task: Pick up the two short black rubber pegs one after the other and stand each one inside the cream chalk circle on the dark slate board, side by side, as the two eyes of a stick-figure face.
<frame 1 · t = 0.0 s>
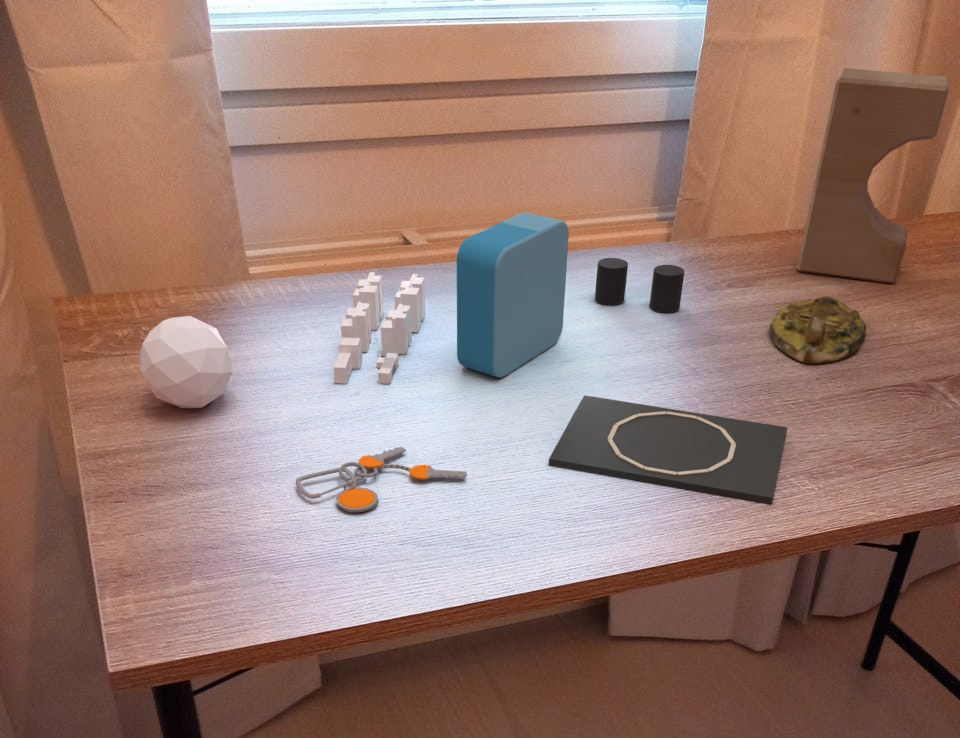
modular blocks: (379, 346, 101), on the table
seal: (815, 337, 104), on the table
decorative block: (846, 272, 118), on the table
slate board: (670, 448, 86), on the table
key chain: (379, 482, 81), on the table
eye peg 2: (664, 307, 109), on the table
blue rounded slab: (510, 357, 100), on the table
geometric ball: (194, 404, 91), on the table
eye peg 1: (609, 299, 110), on the table
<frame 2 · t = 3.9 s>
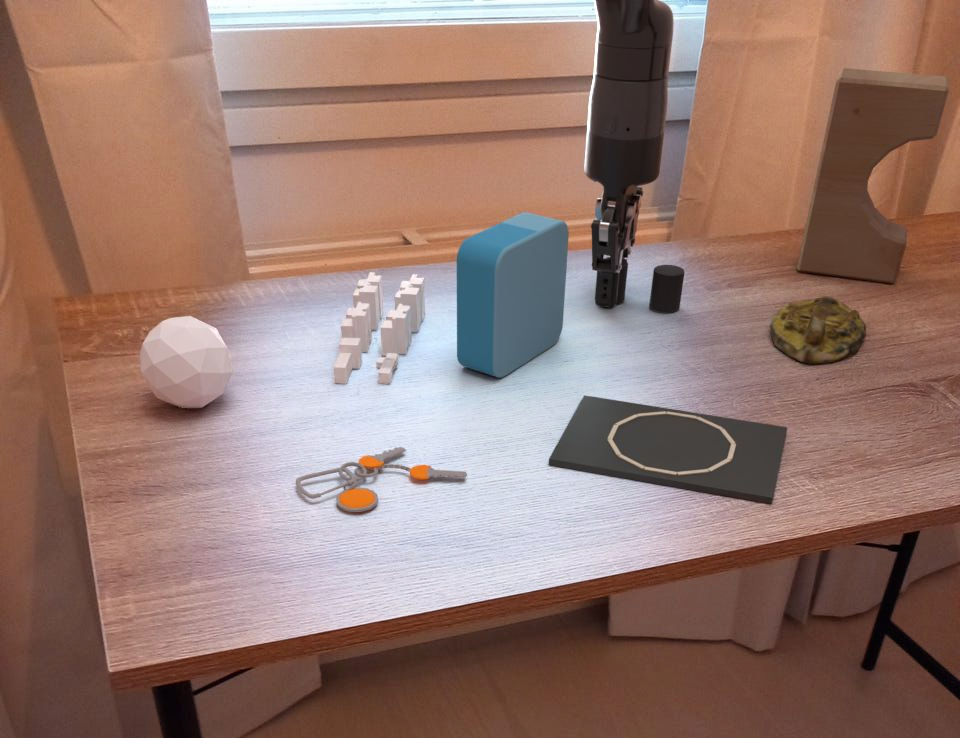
hand: (609, 298, 110), 0 cm above the table, tool pointing down, fingers closed on eye peg 1, 3 cm apart
eye peg 1: (609, 299, 110), on the table, touching gripper
everything else where it was.
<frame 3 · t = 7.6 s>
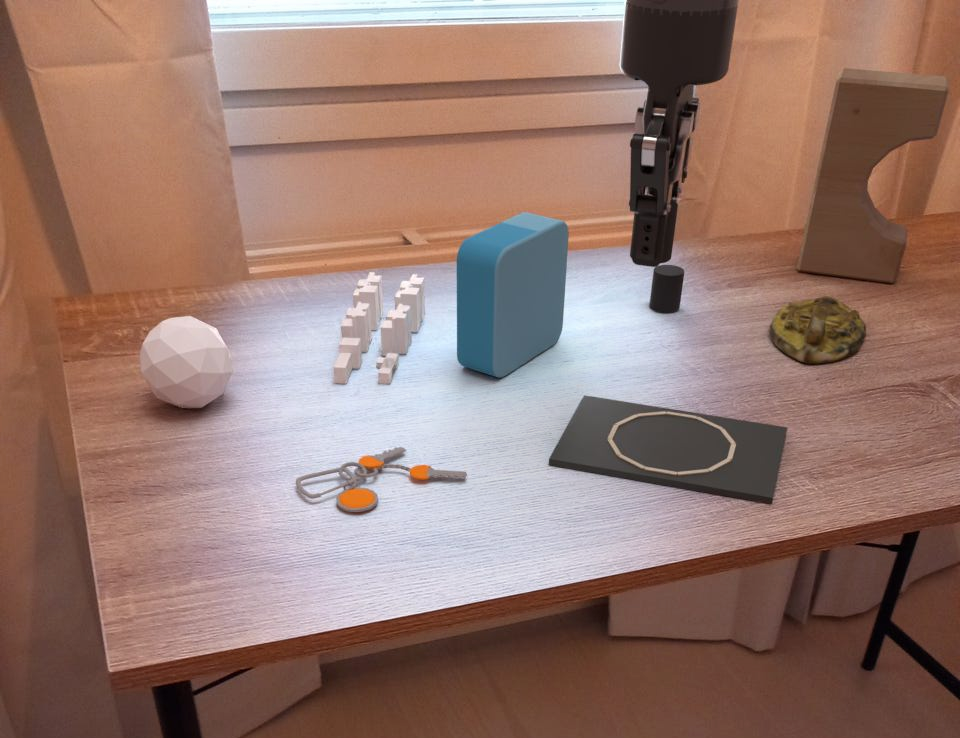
hand: (651, 254, 79), 15 cm above the table, tool pointing down, fingers closed on eye peg 1, 3 cm apart
eye peg 1: (650, 256, 79), point 15 cm above the table, touching gripper
everything else where it was.
when the fingers open (1 cm above the table, at t = 11.3 s): eye peg 1 stays where it is, resting on slate board.
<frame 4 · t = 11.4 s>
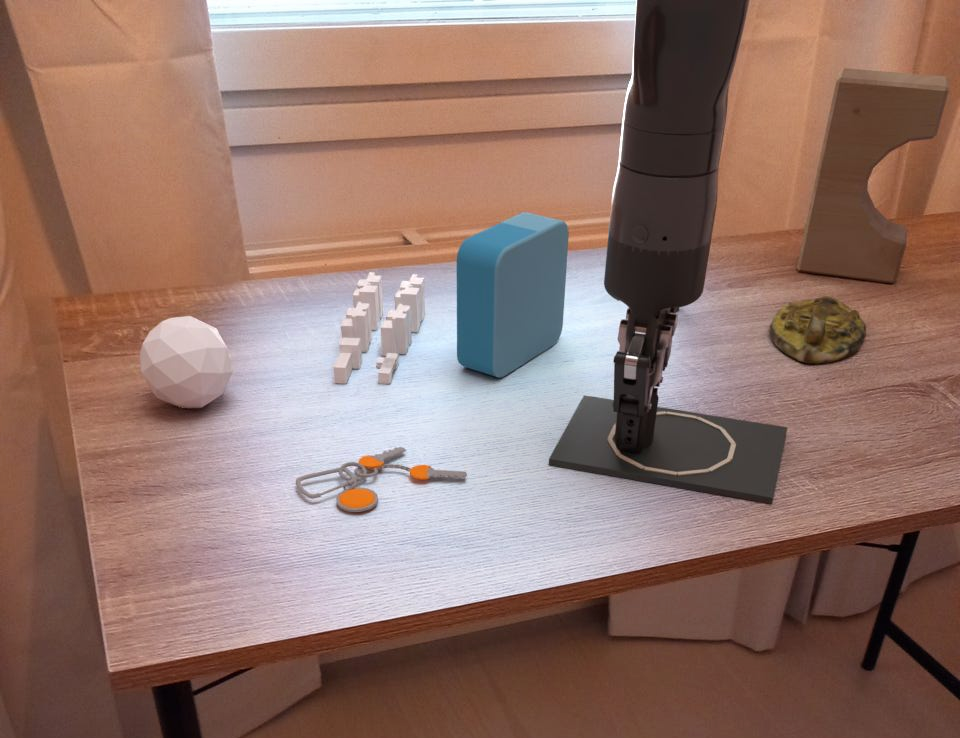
hand: (634, 437, 86), 1 cm above the table, tool pointing down, fingers open, 3 cm apart
eye peg 1: (633, 439, 86), point 1 cm above the table, touching slate board
everything else where it was.
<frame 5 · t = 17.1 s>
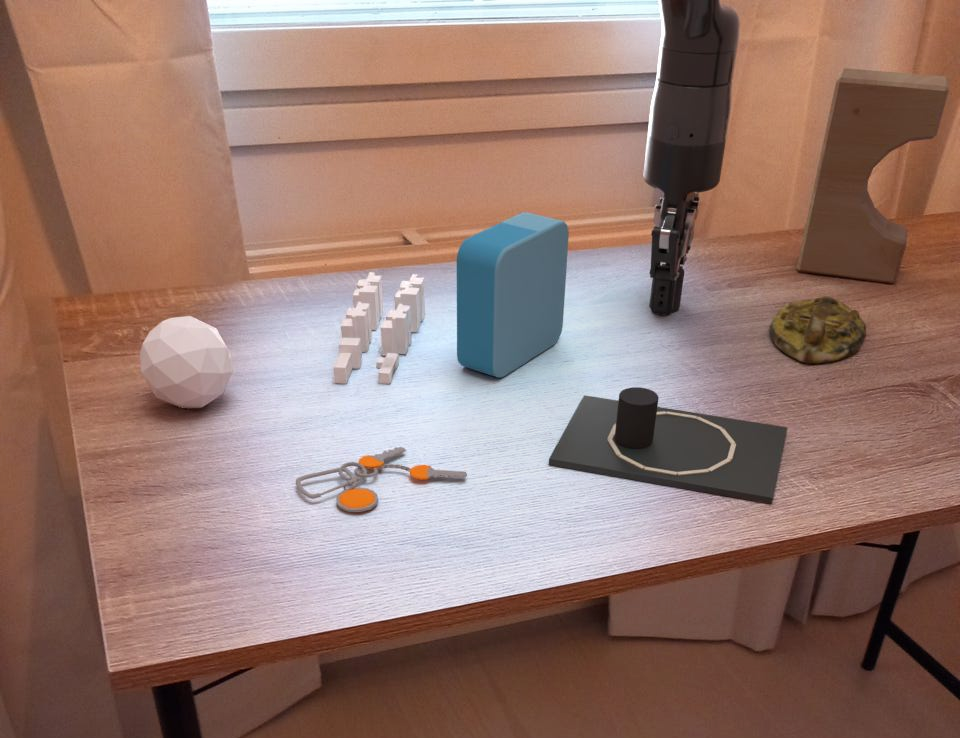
hand: (664, 305, 109), 0 cm above the table, tool pointing down, fingers closed on eye peg 2, 3 cm apart
eye peg 2: (664, 307, 109), on the table, touching gripper
everything else where it was.
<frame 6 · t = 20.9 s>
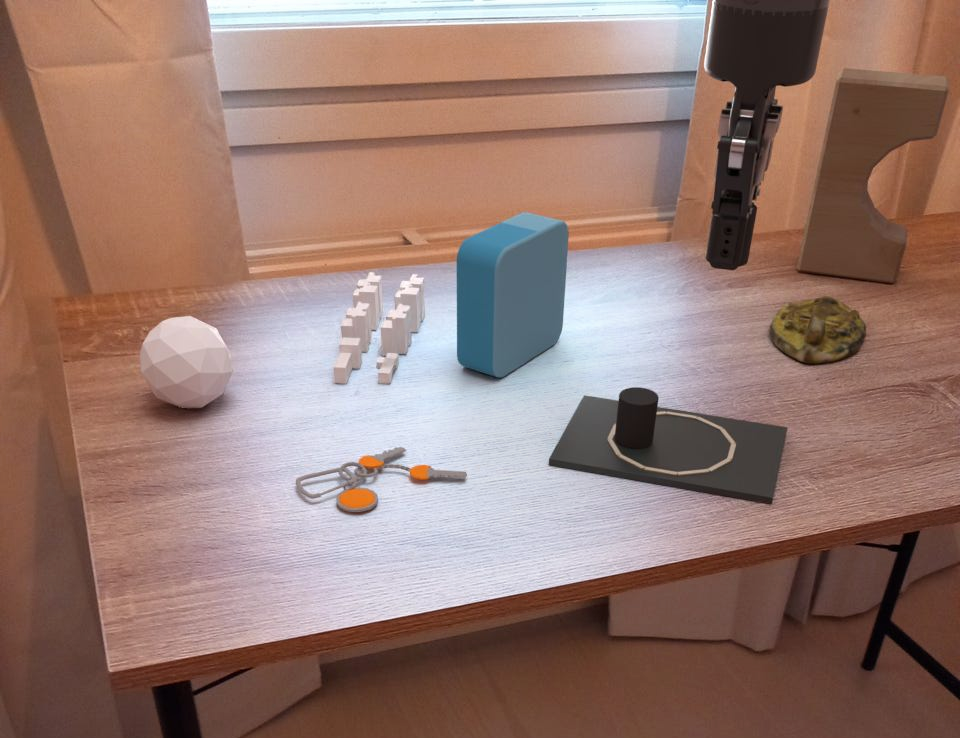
hand: (727, 258, 78), 15 cm above the table, tool pointing down, fingers closed on eye peg 2, 3 cm apart
eye peg 2: (726, 260, 78), point 15 cm above the table, touching gripper
everything else where it was.
when the fingers open (1 cm above the table, at t = 24.8 s): eye peg 2 stays where it is, resting on slate board.
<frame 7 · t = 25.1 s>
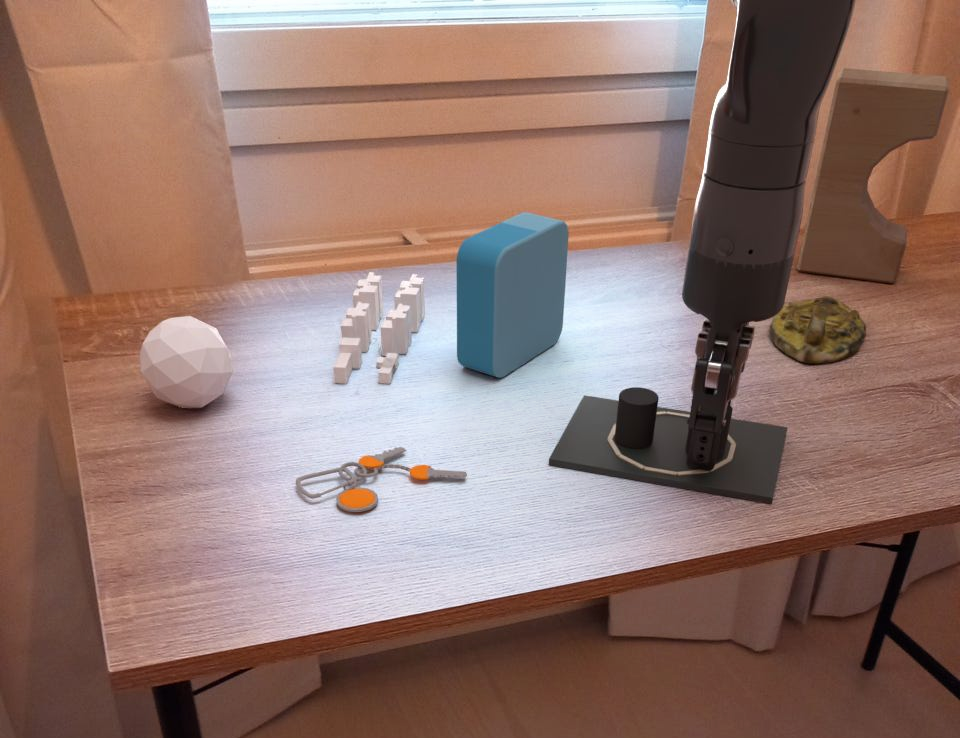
hand: (706, 447, 84), 1 cm above the table, tool pointing down, fingers open, 6 cm apart
eye peg 2: (704, 451, 84), point 1 cm above the table, touching slate board
everything else where it was.
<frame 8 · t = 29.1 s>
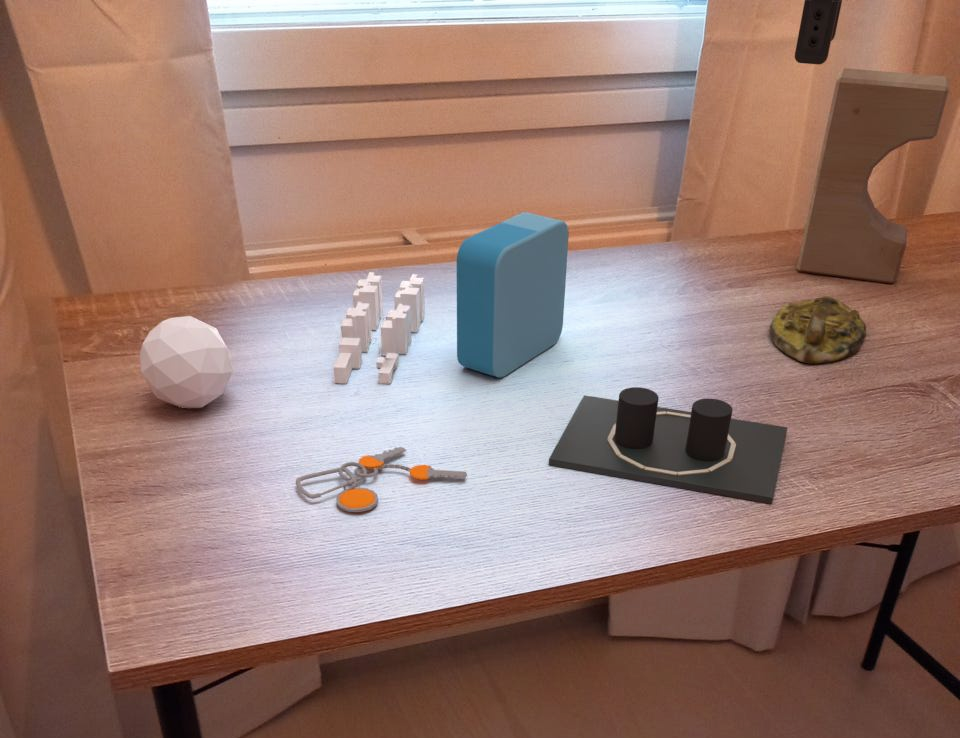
hand: (814, 51, 74), 28 cm above the table, tool pointing down, fingers open, 8 cm apart
nothing on the table moved.
at the end: eye peg 1 inside the target area on the slate board (3.2 cm from its centre), point 0.6 cm above the slate board's base; eye peg 2 inside the target area on the slate board (3.0 cm from its centre), point 0.6 cm above the slate board's base; eye peg 2 tilted 0° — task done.
